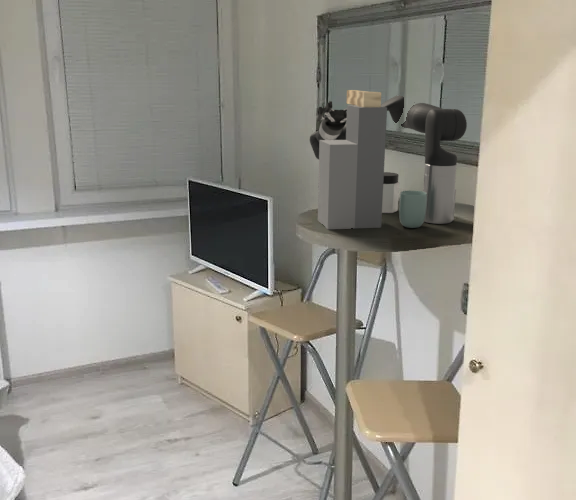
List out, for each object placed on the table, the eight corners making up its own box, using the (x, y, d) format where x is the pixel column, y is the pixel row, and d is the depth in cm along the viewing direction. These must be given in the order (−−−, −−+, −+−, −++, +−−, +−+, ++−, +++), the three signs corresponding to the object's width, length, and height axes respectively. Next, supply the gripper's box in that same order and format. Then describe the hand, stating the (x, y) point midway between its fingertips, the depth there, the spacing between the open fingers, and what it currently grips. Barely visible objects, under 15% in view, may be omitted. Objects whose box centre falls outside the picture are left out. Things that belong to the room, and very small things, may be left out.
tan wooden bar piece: (342, 103, 199) (343, 90, 198) (358, 103, 200) (358, 90, 199) (363, 107, 179) (364, 92, 178) (380, 107, 180) (381, 92, 179)
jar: (377, 206, 217) (379, 171, 214) (400, 209, 213) (402, 173, 210) (366, 211, 210) (368, 174, 207) (390, 214, 206) (392, 176, 203)
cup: (425, 230, 186) (427, 195, 183) (397, 228, 187) (399, 194, 184) (425, 224, 193) (427, 191, 190) (398, 222, 194) (400, 189, 192)
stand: (317, 220, 197) (320, 105, 188) (368, 218, 200) (373, 105, 191) (327, 229, 185) (330, 107, 176) (381, 227, 188) (387, 107, 179)
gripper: (353, 135, 222) (367, 114, 207) (312, 136, 219) (323, 114, 204) (351, 115, 224) (364, 93, 208) (310, 115, 221) (321, 92, 206)
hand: (344, 103), depth 206 cm, fingers open, 8 cm apart
